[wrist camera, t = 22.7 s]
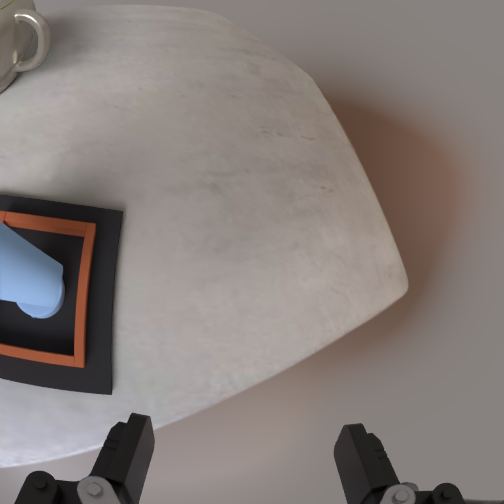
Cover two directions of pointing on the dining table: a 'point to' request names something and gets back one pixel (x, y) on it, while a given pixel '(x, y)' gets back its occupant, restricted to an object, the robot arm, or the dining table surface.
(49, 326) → the pad
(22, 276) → the spotlight
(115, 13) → the dining table surface
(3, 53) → the teapot
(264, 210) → the dining table surface
